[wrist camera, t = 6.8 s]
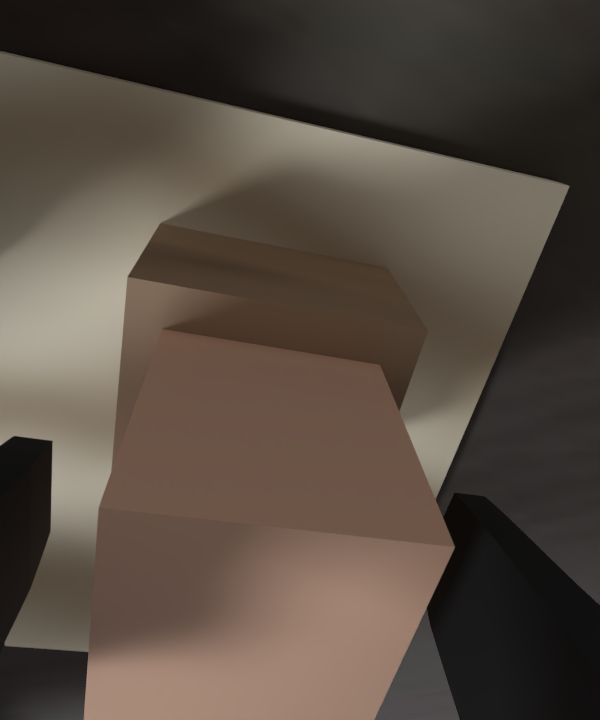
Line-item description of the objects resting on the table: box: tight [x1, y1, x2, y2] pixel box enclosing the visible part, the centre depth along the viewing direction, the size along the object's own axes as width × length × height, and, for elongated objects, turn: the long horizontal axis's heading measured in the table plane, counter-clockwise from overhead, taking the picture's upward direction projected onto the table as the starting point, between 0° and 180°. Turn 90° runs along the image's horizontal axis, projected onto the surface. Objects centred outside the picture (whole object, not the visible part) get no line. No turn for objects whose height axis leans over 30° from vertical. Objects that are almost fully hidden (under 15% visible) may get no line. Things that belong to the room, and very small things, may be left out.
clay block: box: [84, 329, 455, 720], centre depth 10 cm, size 4×4×5 cm
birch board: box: [0, 51, 570, 652], centre depth 18 cm, size 20×14×1 cm
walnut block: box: [111, 223, 428, 471], centre depth 14 cm, size 6×6×4 cm
